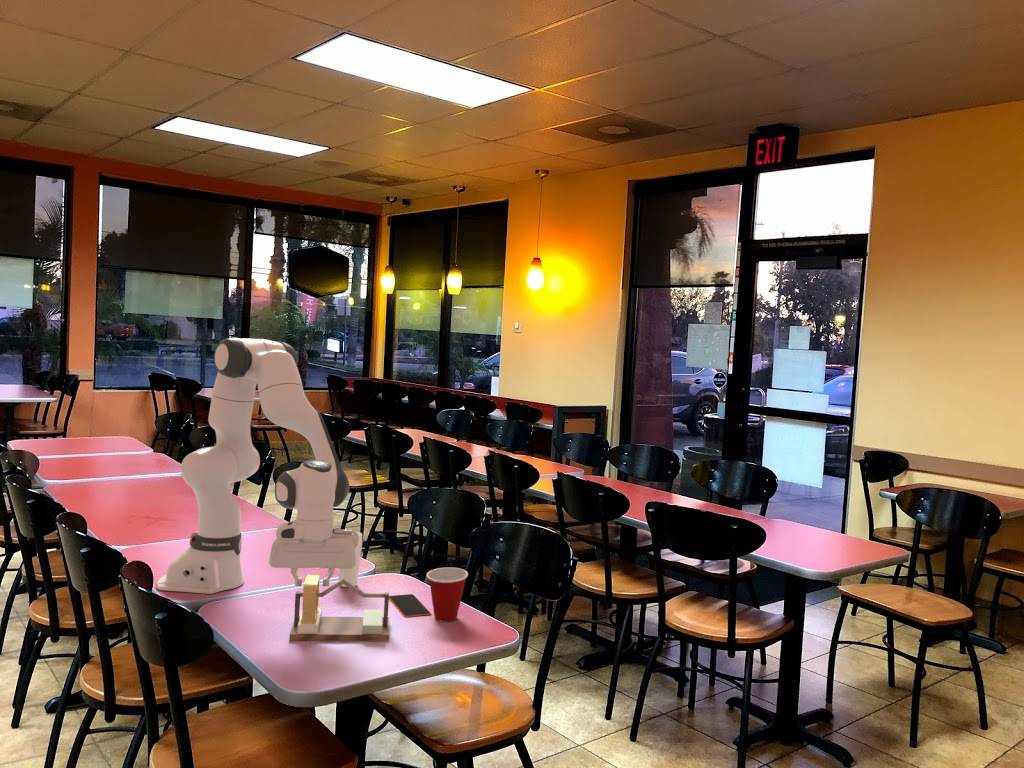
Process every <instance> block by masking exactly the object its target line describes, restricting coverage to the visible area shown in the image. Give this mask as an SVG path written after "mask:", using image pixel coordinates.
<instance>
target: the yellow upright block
mask: <svg viewBox="0 0 1024 768" xmlns="http://www.w3.org/2000/svg"><path fill="white" fill-rule="evenodd" d="M320 576H321V575H320V574H307V575H306V577H305V581H304V583H303V589H302V591H303V592H302V593H303V597H302V610H301V613H302V617H301V624H316V621H317V617H318V613H319V609H320V606H319V598H320V597H316V593H320Z"/></svg>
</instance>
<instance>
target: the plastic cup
mask: <svg viewBox="0 0 1024 768" xmlns="http://www.w3.org/2000/svg"><path fill="white" fill-rule="evenodd" d="M468 576H469V572H468V571H467V570H466V569H462V568H459V567H448V566H447V567H439V568H435V569H431V570H429V571H428V572H427V573H426V578H427V579H428V582H429V587H430V593H431V603H432V608H433V617H434V619H435V620H437V621H441V622H453V621H455V620H457V617H458V613H459V609H460V607H461V600H462V595H463V592H464V588H465V583H466V581H467V578H468Z"/></svg>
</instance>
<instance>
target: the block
mask: <svg viewBox="0 0 1024 768" xmlns="http://www.w3.org/2000/svg"><path fill="white" fill-rule="evenodd" d="M299 616H300V619H299V623H298V630H297V634H317V633H318V629H319V624H320V620H321V617H322V609H320V608H319V613H318V617H317V621H316V624H301V617H302V612H300V615H299Z"/></svg>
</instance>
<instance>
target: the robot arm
mask: <svg viewBox="0 0 1024 768" xmlns="http://www.w3.org/2000/svg"><path fill="white" fill-rule="evenodd" d="M213 355H214V356H213V361H214V366H215V369H216V370H217V374H216V376H215V380H214V385H213V388H212V389H213V390H212V394H211V400H210V405H209V406H210V407H209V412H208V417H207V418H208V419H207V422H208V424H209V426H210V427H211V428H212V429H213V430H214V432H215V436H216V442H215V446H208V447H201V448H199V449H196V450H195V451H192V452H191V453H189V454H187V455H186V456H185V457H184V458H183V459H182V462H181V465H180V474H181V478H182V479H183V481H184V483H186V485H188V486H189V487H190V488H191V489H192V491H193V493H194V495H195V498H196V503H197V507H198V508H197V509H198V514H197V515H198V516H197V517H198V519H197V520H198V521H197V523H198V529H197V530H194V531H193V532H192V533H191V536H190V537H189V547H188V548H186V549H185V550H184V551H182V552H181V553H179V554H178V555H176V556H175V557H174V558H172V560H171V561H170V563H169V564H168V566H167V569H166V574H164V575H162V576H161V577H160V578H159V579H158V580H157V582H156V583H157V584H156V588H157V590H159V591H168V592H183V593H194V594H195V593H196V594H206V595H207V594H208V595H209V594H210V595H211V594H216V593H218V592H223V591H227V590H232V589H235V588H236V589H237V588H239V587H240V586H243V584H244V582H245V581H244V580H245V579H244V577H243V571H242V565H241V551H242V538H243V537H242V532H241V514H242V508H241V505H240V503H239V501H237V500H235V499H234V497H233V494H232V490H231V484H232V483H236V482H237V483H238V482H241V481H242V482H243V481H244V480H246V479H248V478H249V477H251V476H252V475H254V474H256V472H257V471H258V470H259V468H260V464H261V459H260V453H259V451H258V450H257V449H256V447H255V446H254V445H253V444H254V443H253V442H252V436H251V435H252V434H251V424H252V423H251V422H252V416H253V408H254V403H255V398H256V397H255V396H256V388H257V392H258V397H259V402H260V406H261V407H260V408H261V410H262V413H263V415H264V417H265V418H266V419H267V420H269V421H270V423H273V424H275V425H276V426H279V427H281V428H284V429H287V430H291V431H293V432H296V433H298V434H299V435H302V436H303V437H305V439H306V440H307V441H308V442H309V444H310V447H311V449H312V452H313V455H314V458H315V459H310V460H305V461H303V462H302V463H300V465H299V467H297V468H294V469H291V470H287V471H283V472H281V474H280V475H279V476H278V478H277V479H276V481H275V484H274V498H275V500H276V502H277V503H278V504H279V505H280V506H281V507H282V508H284V509H289V510H296V511H297V513H296V517H295V518H296V519H295V520H291V521H287V522H284V523H280V525H278V527H277V528H276V532H275V534H276V535H275V536H276V537H275V538H274V540H273V542H272V544H271V549H270V552H269V560H268V561H269V563H268V564H269V565H270V567H271V568H274V569H282V568H283V569H290V573H291V575H292V577H293V579H294V581H295V582H294V586H295V587H301V586H302V585H303V577H302V576H299V575H298V569H328V570H327V571H328V572H327V573H328V575H327V576H325V577H323V578H322V587H330V579H331V578H332V577H333V575H334V574H335V569H338V568H342V569H352V568H353V567H354V566H355V565H356V550H355V547H356V546H357V545H358V535H357V533H356V532H357V531H355V532H354V531H353V530H352V529H341V528H340V529H339V528H337V529H336V528H334V527H335V526H334V525H335V513H334V508H337V507H339V506H340V505H341V504H342V503H343V502H344V501H345V500H346V498H347V497H348V495H349V492H350V481H349V478H348V476H347V473H346V472H345V470H344V468H343V466H342V465H341V462H340V460H339V458H338V454H337V452H336V449H335V446H334V444H333V441H332V439H331V436H330V433H329V431H328V428H327V425H326V423H325V421H324V418H323V416H322V415H321V413H320V411H319V410H317V409H316V408H314V407H313V405H312V404H311V402H310V401H309V400H308V398H307V397H306V393H305V392H304V388H303V387H304V385H303V381H302V378H301V375H300V372H299V368H298V366H297V364H298V357H297V353H296V350H295V348H294V347H293V346H291V344H288V343H286V342H283V341H275V340H274V341H273V340H270V339H264V338H239V337H228V338H224V339H222V340H221V341H219V343H218V344H217V346H216V348H215V349H214V353H213ZM352 533H354V534H352Z"/></svg>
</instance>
